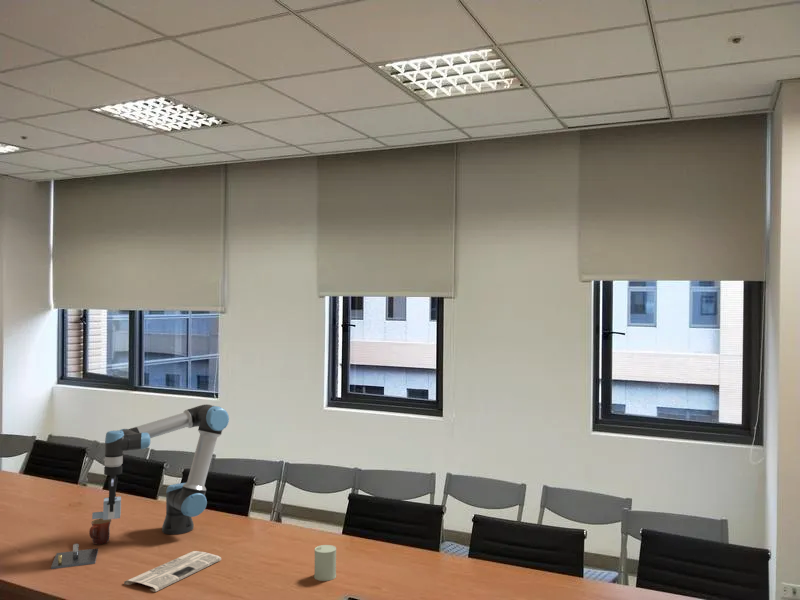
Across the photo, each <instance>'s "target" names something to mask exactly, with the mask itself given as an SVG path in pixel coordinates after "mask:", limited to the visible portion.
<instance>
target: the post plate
mask: <svg viewBox="0 0 800 600" xmlns="http://www.w3.org/2000/svg"><path fill="white" fill-rule="evenodd" d="M79 546H80V544H79V543H74V544H73V545H72V550H71V551H63V552H56V554H55V557H54V559H53V561H52V564H51V565H50V569H51V570H54V569H55V570H56V569H62V568H70V567H78V566H79V567H80V566H86V565H95V564H96V561H97V556H98V553H99V548H98V547H97V548H89V549H88V548H87V549H80V550H79Z"/></svg>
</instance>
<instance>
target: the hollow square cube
mask: <svg viewBox="0 0 800 600" xmlns="http://www.w3.org/2000/svg"><path fill="white" fill-rule="evenodd" d="M108 502H109V496H107V497H104V498H103V510H102V511H95V512H92V514H91V515H92V516H91V520H96V519H102V518H103V520H107V519H108V505H107V503H108ZM121 511H122V496H121V495H120V496H116V497H115V518H114V519H113V520H115V519H116V520H117V519H121Z"/></svg>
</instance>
